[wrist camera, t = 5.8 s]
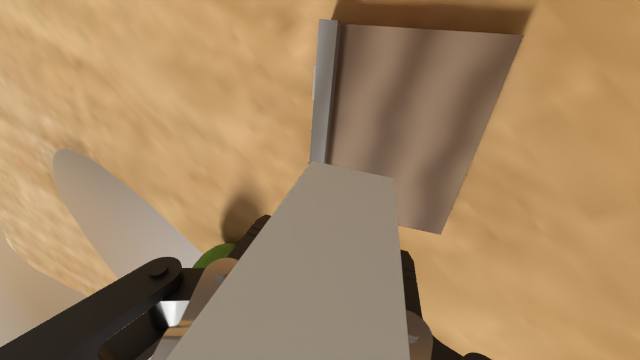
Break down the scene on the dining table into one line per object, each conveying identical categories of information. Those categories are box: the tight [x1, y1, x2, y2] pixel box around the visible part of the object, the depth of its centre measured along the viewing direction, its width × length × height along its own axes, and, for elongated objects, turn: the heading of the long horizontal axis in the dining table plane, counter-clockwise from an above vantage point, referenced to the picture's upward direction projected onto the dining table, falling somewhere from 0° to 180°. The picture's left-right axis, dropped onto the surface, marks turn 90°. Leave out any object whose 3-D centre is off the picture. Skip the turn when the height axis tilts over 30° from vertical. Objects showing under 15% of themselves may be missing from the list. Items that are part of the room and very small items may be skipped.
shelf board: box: [307, 19, 524, 235], centre depth 24 cm, size 16×20×4 cm
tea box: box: [166, 161, 410, 360], centre depth 9 cm, size 6×4×9 cm
